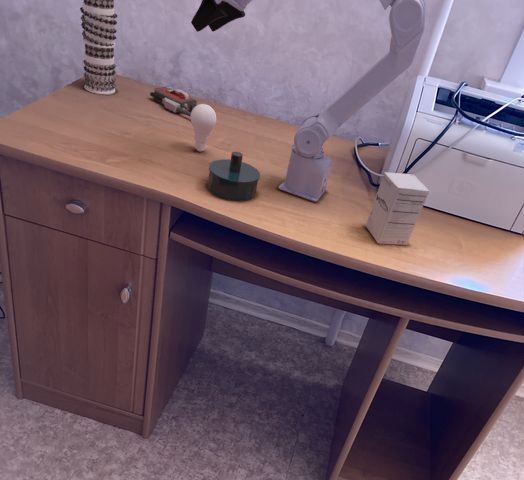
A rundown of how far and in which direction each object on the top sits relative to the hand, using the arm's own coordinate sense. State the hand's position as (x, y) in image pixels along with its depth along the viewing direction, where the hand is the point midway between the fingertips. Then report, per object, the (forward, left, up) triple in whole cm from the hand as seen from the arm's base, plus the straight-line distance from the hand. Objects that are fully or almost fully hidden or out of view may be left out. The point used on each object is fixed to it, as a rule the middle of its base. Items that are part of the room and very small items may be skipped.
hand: (202, 27), depth 107 cm
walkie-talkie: (+18, -29, -28) cm, 44 cm away
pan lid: (-15, +8, -23) cm, 29 cm away
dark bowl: (-15, +8, -27) cm, 32 cm away
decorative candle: (+41, -24, -28) cm, 55 cm away
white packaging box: (-50, +4, -28) cm, 57 cm away
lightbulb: (0, -6, -28) cm, 28 cm away
